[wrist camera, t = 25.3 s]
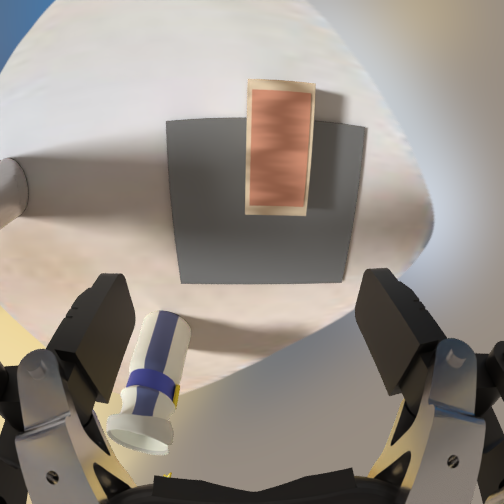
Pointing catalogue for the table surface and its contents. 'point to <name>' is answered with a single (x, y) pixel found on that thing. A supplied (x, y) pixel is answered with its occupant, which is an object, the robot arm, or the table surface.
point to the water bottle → (152, 385)
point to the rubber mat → (259, 226)
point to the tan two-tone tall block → (278, 146)
